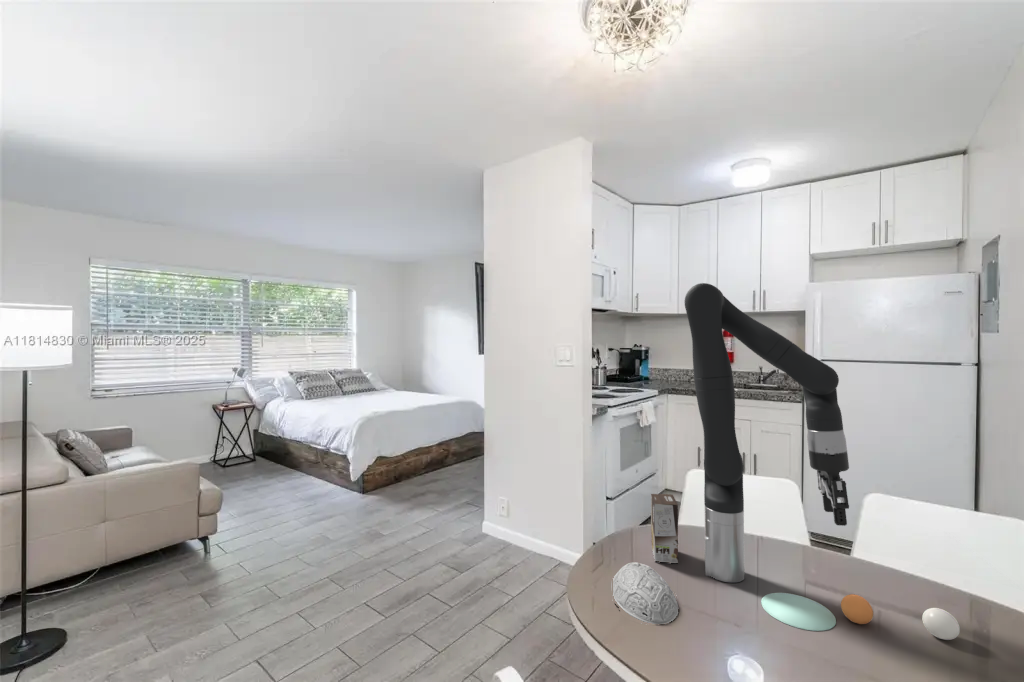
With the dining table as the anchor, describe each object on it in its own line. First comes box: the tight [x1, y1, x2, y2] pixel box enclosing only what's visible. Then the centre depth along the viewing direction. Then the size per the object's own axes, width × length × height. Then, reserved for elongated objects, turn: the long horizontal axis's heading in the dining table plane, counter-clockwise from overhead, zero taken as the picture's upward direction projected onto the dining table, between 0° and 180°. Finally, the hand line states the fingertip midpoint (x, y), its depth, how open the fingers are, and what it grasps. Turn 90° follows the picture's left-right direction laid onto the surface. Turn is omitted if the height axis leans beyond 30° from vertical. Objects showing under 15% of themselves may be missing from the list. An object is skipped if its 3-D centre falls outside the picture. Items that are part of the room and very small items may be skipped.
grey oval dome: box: [612, 561, 679, 625], centre depth 108 cm, size 16×25×7 cm, turn 177°
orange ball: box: [840, 594, 874, 625], centre depth 97 cm, size 6×6×6 cm
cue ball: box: [921, 607, 961, 641], centre depth 92 cm, size 6×6×6 cm
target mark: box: [760, 592, 837, 632], centre depth 101 cm, size 14×14×1 cm
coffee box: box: [650, 493, 679, 564], centre depth 128 cm, size 9×6×16 cm
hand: (835, 518), depth 106 cm, fingers open, 8 cm apart
